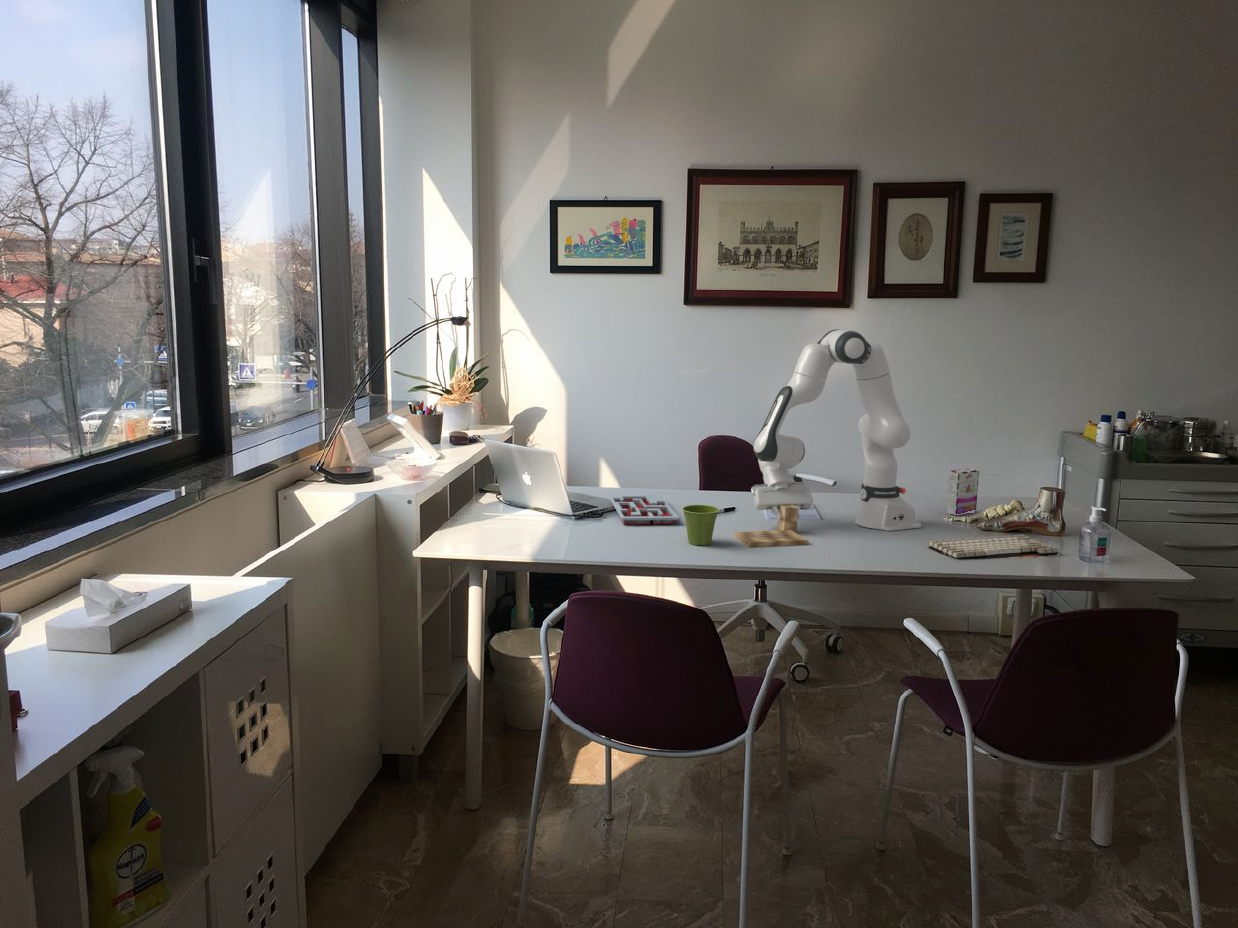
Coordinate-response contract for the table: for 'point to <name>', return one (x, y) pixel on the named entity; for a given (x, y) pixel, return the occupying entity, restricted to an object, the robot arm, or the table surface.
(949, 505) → the candy bar box
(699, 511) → the plant pot
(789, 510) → the block
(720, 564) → the table surface
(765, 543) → the board
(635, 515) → the maze game
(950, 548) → the mechanical keyboard
